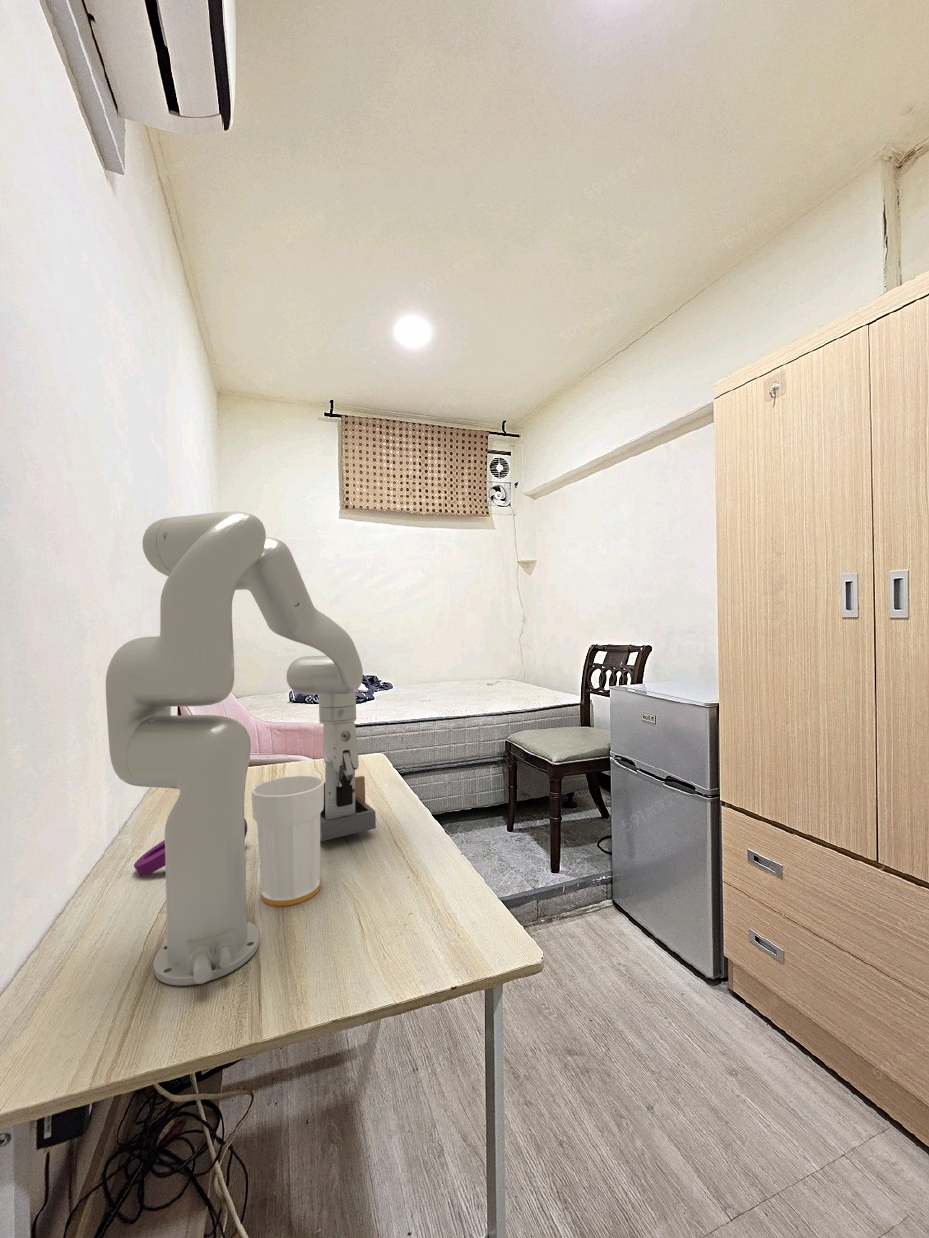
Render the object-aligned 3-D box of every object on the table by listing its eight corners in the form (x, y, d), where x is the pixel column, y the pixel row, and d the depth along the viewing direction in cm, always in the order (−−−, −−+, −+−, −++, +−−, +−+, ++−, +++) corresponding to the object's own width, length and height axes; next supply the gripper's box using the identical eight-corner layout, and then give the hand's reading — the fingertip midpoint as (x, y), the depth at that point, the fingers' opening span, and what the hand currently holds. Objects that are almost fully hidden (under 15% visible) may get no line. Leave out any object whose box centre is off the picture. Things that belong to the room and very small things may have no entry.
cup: (340, 888, 85) (337, 782, 85) (275, 918, 76) (272, 801, 77) (304, 868, 92) (302, 771, 93) (242, 893, 84) (239, 787, 84)
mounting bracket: (151, 914, 90) (250, 854, 95) (126, 874, 89) (227, 816, 94) (165, 888, 99) (254, 835, 104) (142, 852, 98) (234, 799, 103)
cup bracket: (387, 834, 106) (386, 791, 107) (309, 854, 98) (307, 807, 98) (364, 814, 119) (362, 775, 119) (292, 830, 110) (291, 788, 111)
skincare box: (325, 821, 104) (324, 761, 104) (325, 813, 108) (323, 756, 108) (356, 817, 106) (355, 758, 106) (354, 809, 110) (353, 753, 110)
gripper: (369, 717, 102) (371, 809, 102) (342, 707, 117) (345, 788, 116) (331, 721, 98) (334, 817, 98) (309, 711, 113) (311, 794, 112)
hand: (340, 800), depth 107 cm, fingers open, 5 cm apart
